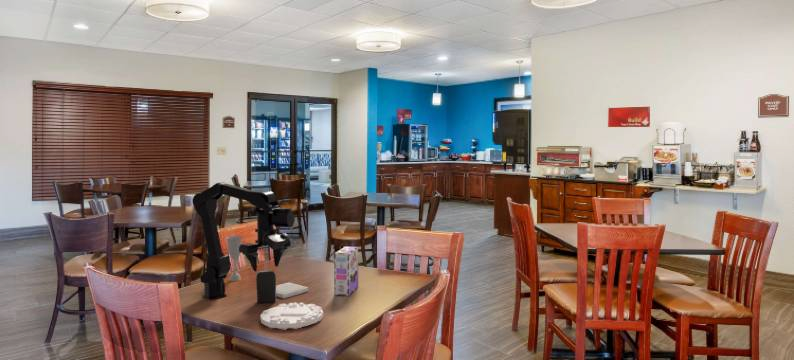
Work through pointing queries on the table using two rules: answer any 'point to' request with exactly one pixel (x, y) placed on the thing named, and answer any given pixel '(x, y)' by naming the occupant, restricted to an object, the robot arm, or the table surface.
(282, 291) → the tray
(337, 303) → the table surface
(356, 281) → the candy box
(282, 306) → the white round plaque
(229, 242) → the chalice
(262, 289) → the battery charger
